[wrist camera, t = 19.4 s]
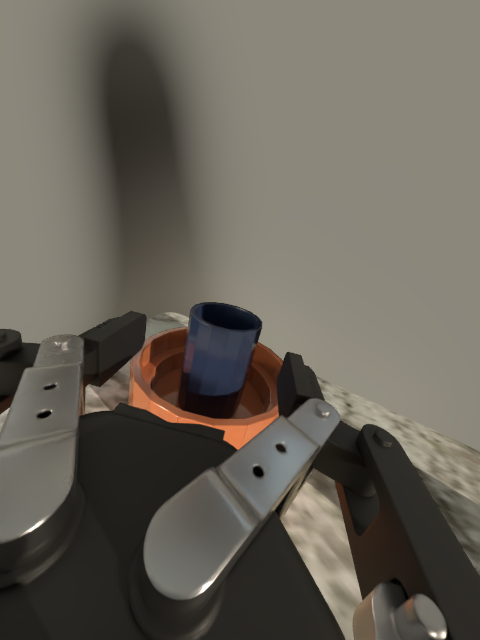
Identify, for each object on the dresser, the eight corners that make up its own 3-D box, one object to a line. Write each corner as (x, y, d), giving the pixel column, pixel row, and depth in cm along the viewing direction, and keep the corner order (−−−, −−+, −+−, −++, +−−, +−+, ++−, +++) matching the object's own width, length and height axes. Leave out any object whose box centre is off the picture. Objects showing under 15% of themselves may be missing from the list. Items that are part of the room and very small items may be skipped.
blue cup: (240, 387, 25) (262, 312, 21) (234, 431, 19) (262, 339, 16) (188, 373, 25) (202, 297, 21) (166, 413, 19) (180, 318, 16)
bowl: (274, 378, 29) (286, 345, 27) (283, 500, 15) (307, 450, 14) (168, 351, 29) (172, 316, 27) (86, 448, 16) (85, 392, 14)
